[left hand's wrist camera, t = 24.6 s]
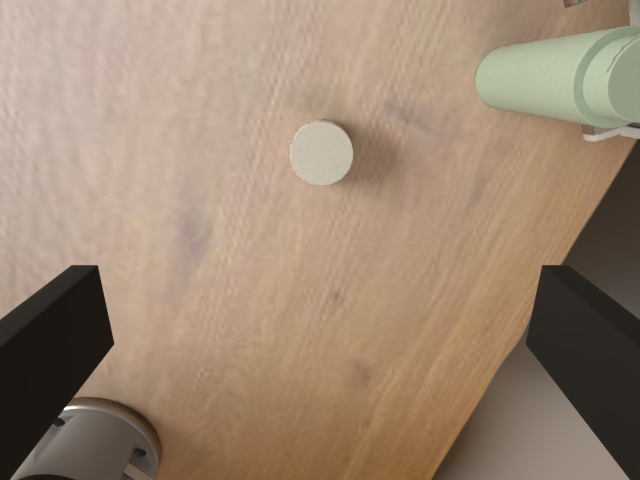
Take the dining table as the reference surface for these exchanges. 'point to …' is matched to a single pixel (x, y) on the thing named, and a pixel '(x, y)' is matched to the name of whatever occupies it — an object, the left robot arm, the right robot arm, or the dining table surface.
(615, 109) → the jar
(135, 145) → the dining table surface
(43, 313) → the left robot arm
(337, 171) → the lid
